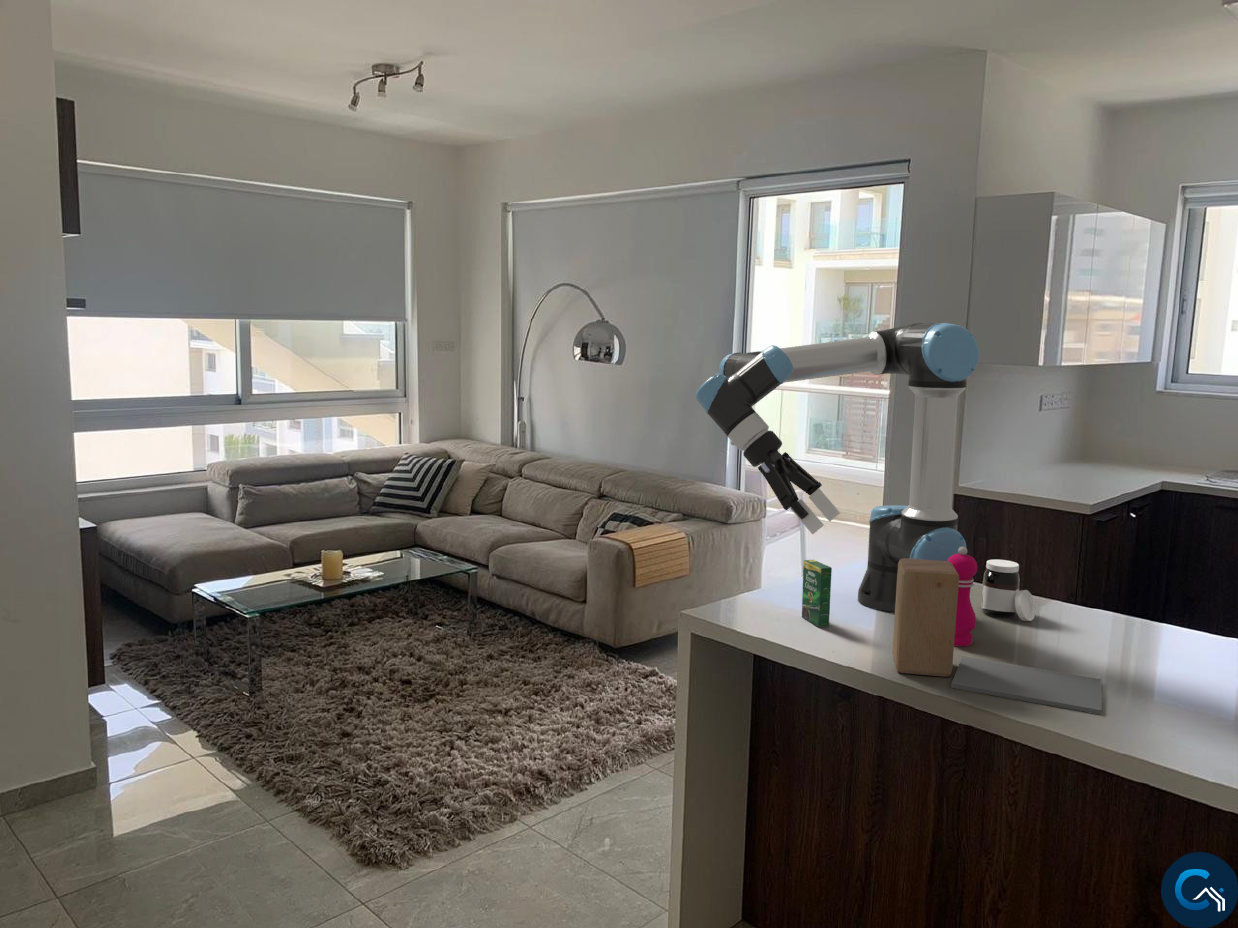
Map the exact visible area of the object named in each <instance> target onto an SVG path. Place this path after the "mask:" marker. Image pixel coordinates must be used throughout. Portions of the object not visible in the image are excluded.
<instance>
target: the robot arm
mask: <svg viewBox="0 0 1238 928" xmlns="http://www.w3.org/2000/svg"><path fill="white" fill-rule="evenodd" d="M979 361H980V349H979V344H978V342H977V340H976V338H975V336H974V335H973V334H972V333H971V332H970V330H968V329H967V328H965V327H963V326H962V325H958V324H953V323H949V322H938V323H937V322H936V323H935V322H933V323H932V322H929V323H927V322H925V323H924V322H915V323H910V324H904V325H901V326H897V327H892V328H888V329H882V330H877V331H876V330H875V331H871V332H869V333H868V334H867V336H866V337H859V338H858V337H857V338H850V339H844V340H834V341H827V342H819V343H812V344H804V345H798V346H797V345H796V346H789V347H788V346H787V347H781V348H780V347H779V346H777V345H770V346H768V347H766V348H765V349H763V350H762V349H761V351H752V352H751V351H749V352H744V353H743V352H733V353H729V354H727V355H726V356H725V357H723V358H722V360H721V361H720V364H719V367H718V368H719V369H718V373H716V374H714V375H713V376H710V377H709V378H708V379H707V380H705V382H704V383H702V384H701V385H700V387H699V388H698V389H697V391H696V393H695V394H696V395H695V397H696V400H697V402H698V403H699V404H700V406H701V407H702V408H703V410H704V411H705V412H706V415H708V416H709V417H710V418H711V419H712V421H714V423H715V424H716V425H717V426H718V427H719V428H720V429H721V431H722V432H723V433H724V434H725V435H726V437H727V438H728V439H729V440H730V445H732V446H735V447H736V448H737V450H739V452H743V453H742V454H743V456H744V458H745V459H746V460H747V462H748V463H749V464H750V465H751V466H752V467H753V468H755V467H757V470H758V471H759V472H760V473H761V474H762V475H763V477H764V478H765V480H766V481H767V484H768V485H769V487H770V489H772V490H771V491H772V492H773V494H774V495H775V497H776V498H777V500H778V502H779V503H780V504H781V506H782V508H783V509H784V510H785V511H788V510H789V509H790V510H791V511H792V512H793V513H794V515H795V516H796V517H797V518H798V519H799V521H801V523H802V524H803V525H804V526H805V527H806V529H807V530H808V531H809V532H810V534H812V535H814V534H815V533H817V532H818V531H819V530H820V529H821V528H823V527H824V526H825V524H824V523H823V522H822V521H821V519H820V518H819V517H818V516H817V515H816V513H815V512H814V511H813V510H812V509H811V508H810V507H809V506H808V504H807V503H806V502H805V501H804V500H803V498H800V499H799V497H798V495H797V492H796V490H795V488H794V486H793V484H794V485H795V486H796V487H797V488H799V489H800V490H802V492H804V493H806V494H807V495H808V499H809V500H810V501H811V502H812V503H813V504H814V506H816V508H817V509H818V511H820V512H821V513H822V515H823V516H824V517H825V519H827V521H829V522H831V521H833V520H834V519H835V518H836V517H838V516H839V515H840V514H841V512H840V511H839V509H838V508H837V507H836V506H835V504H833V502H832V501H831V500H830V498H828V496H826V494H825V493H824V492H823V491H822V490H821V489H820V488H821V487H822V486H823V485H822V483H821V482H820V481H818V480H817V479H816V478H814V476H812V475H811V474H810V473H809V472H807V470H806V469H804V468H803V467H802V466H801V465H800V464H799V463H797V462H796V461H795V460H794V459H793V458H792V456H790V454H789V453H788V452H786V451H785V452H783V453H780V452H779V449H780V448H781V447H782V445H783V441H782V439H780V438H779V437H778V435H777V434H776V433H775V432H774V431H773V430H769V429H770V426H769V425H768V424H767V423H766V421H765V420H764V419H763V417H761V415H760V414H759V413H757V412H756V410H755V409H754V408H753V407H754V406H755V405H756V404H757V403H759V402H760V401H761V400H763V399H764V398H765V397H766V396H767V395H769V394H771V393H772V391H774V390H776V389H777V388H778V387H780V385H782V384H784V383H793V382H800V381H806V380H813V379H822V378H829V377H836V376H844V375H845V376H846V375H853V374H860V373H867V372H870V373H871V374H873V375H875V376H878V375H886V374H887V375H889V374H890V375H891V374H892V375H893V374H894V375H903V376H908V383H907V384H908V385H907V386H908V389H910V391H911V392H912V393H913V394H914V409H913V410H914V412H913V429H912V430H913V431H912V446H911V447H912V450H911V464H910V465H911V466H910V485H909V504H908V505H890V504H889V505H878V506H875V507H873V508H872V510H871V512H870V516H869V517H870V518H869V522H868V523H869V529H868V530H869V531H868V532H869V533H868V549H867V551H868V552H867V565H866V566H867V567H866V570H865V573H864V575H863V578H862V581H861V583H860V585H859V588H858V591H857V601H858V603H860V604H861V605H863V606H865V607H868V608H870V609H871V608H872V609H876V610H880V611H885V612H894V613H895V604H896V589H897V574H898V562H899V560H900V559H903V558H908V559H923V560H938V561H947V560H948V559H949V557H951V556H952V555H954V554H959V552H958V549H959V548H960V547H966V548H967V543H966V540H965V537H963V536H962V534H961V532H960V531H958V521H959V517H958V516H959V515H958V513H956V511H955V510H954V509H952V494H953V480H954V461H955V448H956V445H955V444H956V430H957V415H958V402H959V401H958V400H959V399H958V398H959V396H960V395H961V394H962V393H963V392H964V391H965V390H966V389H967V379H968V378H969V377H970V376H971V375H972V373H973V372H974V371H975V370H976V368H977V367H978V364H979Z"/></svg>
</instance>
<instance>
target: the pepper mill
mask: <svg viewBox="0 0 1238 928" xmlns="http://www.w3.org/2000/svg"><path fill="white" fill-rule="evenodd" d="M958 552H959V554H954V555H952V556H951V557H949V559H948V560H947V561H948V562H951V563H952V565H953V566H954V568H955V570H956V572H957V573H958V576H959V586H958V599H957V612H956V625H955V638H954V647H968V646H971V645H972V644H973V634H972V633H971V632H972V631H973V630H974V629H975V628H976V627H977V617H976V613H975V611H974V608H973V606H972V605H973V604H972V603H971V597H970V596H971V589H972V587H973V586H974V581H975V579H974V578H973V577H974V576H975V575H976V574H977V572H978V564H977V563H978V562H977V561H976V559H975V558H974V557H972V555H969V554H968V549H967V546H966V547H960V548H959V549H958Z"/></svg>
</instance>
